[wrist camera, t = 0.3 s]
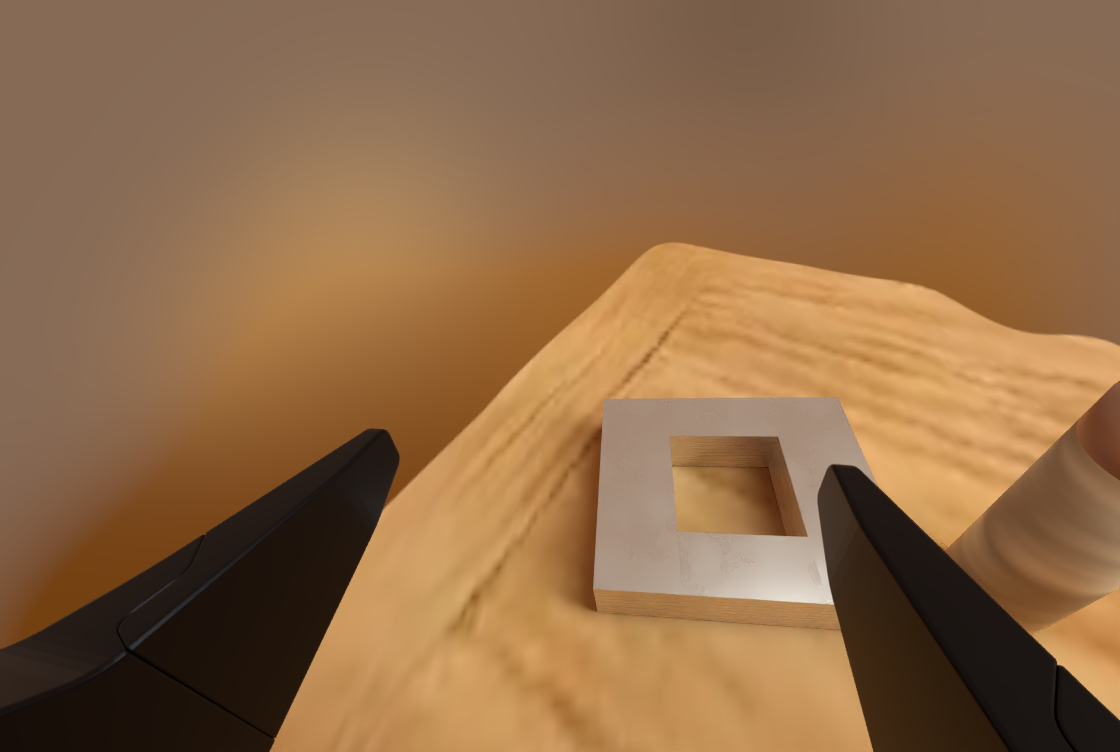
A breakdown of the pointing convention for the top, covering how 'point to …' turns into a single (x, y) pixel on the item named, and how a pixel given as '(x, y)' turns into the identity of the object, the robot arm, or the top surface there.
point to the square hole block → (715, 558)
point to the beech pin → (1054, 526)
